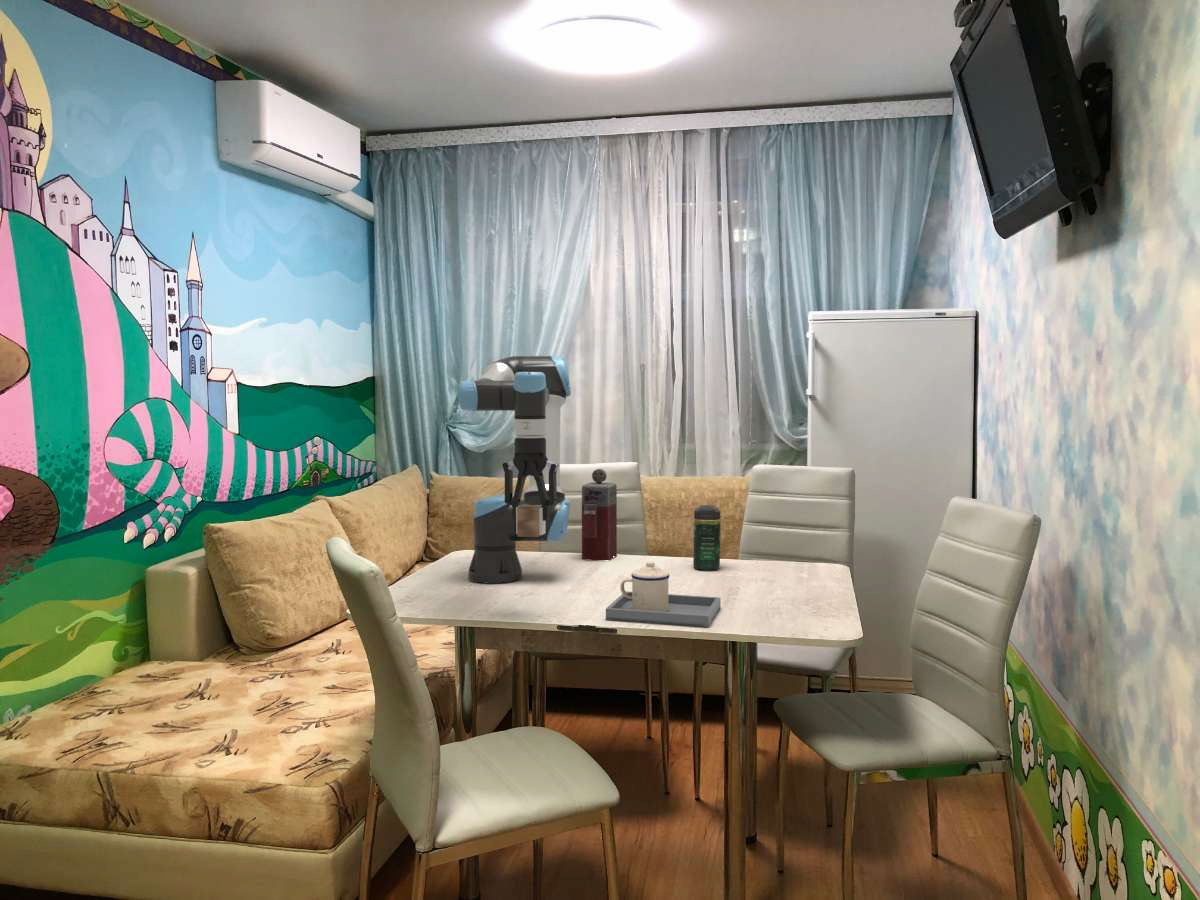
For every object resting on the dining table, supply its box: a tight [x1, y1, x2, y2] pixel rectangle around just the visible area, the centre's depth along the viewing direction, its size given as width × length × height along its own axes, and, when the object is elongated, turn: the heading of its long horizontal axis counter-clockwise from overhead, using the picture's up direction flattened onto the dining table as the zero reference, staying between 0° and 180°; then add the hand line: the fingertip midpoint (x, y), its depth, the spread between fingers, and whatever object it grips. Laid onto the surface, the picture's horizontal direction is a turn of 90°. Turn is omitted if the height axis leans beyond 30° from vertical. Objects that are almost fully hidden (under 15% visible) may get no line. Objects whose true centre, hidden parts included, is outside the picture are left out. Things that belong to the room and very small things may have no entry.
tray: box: [605, 590, 721, 628], centre depth 212 cm, size 24×18×3 cm
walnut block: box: [517, 505, 542, 537], centre depth 213 cm, size 5×5×7 cm
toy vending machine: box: [581, 468, 618, 561], centre depth 278 cm, size 9×11×28 cm
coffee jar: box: [692, 504, 722, 571], centre depth 264 cm, size 10×8×19 cm
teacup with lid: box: [619, 561, 670, 612], centre depth 213 cm, size 12×9×12 cm
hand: (530, 533), depth 214 cm, fingers closed on walnut block, 5 cm apart
